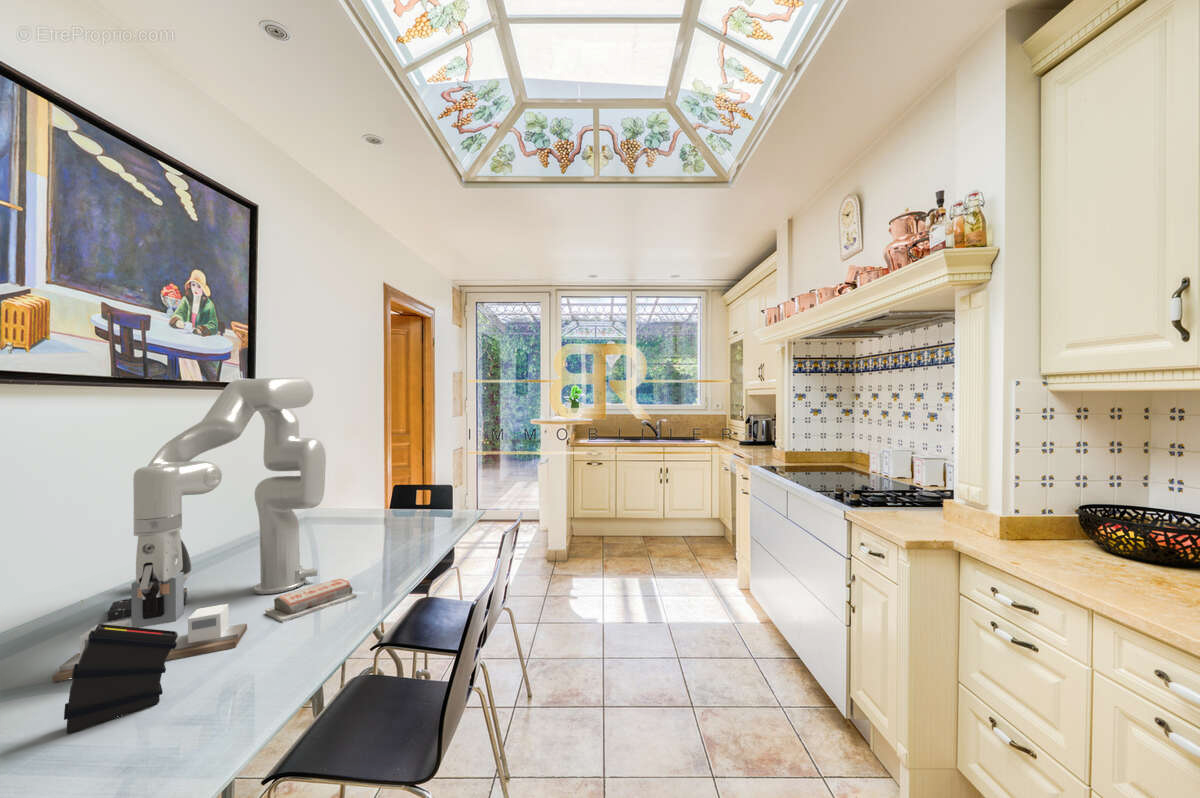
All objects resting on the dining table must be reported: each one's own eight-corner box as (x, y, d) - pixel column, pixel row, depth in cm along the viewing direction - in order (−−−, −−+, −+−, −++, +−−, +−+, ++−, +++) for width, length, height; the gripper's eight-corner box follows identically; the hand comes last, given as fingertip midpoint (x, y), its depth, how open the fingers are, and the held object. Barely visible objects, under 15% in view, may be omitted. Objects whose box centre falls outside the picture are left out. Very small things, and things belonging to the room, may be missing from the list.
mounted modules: (228, 626, 109) (228, 603, 109) (220, 637, 103) (219, 614, 103) (96, 649, 99) (96, 625, 100) (79, 663, 94) (79, 637, 94)
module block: (183, 613, 105) (183, 571, 105) (175, 621, 100) (175, 577, 101) (141, 620, 102) (141, 577, 102) (131, 629, 98) (131, 583, 98)
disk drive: (107, 624, 119) (186, 606, 128) (107, 613, 119) (186, 595, 128) (112, 612, 127) (187, 596, 136) (112, 601, 127) (186, 586, 136)
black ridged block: (35, 725, 75) (95, 622, 80) (142, 725, 83) (189, 632, 89) (34, 736, 72) (95, 629, 77) (143, 734, 81) (192, 638, 86)
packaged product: (338, 574, 135) (356, 581, 129) (338, 592, 135) (357, 599, 129) (264, 596, 120) (281, 604, 115) (264, 616, 120) (282, 624, 114)
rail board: (247, 628, 112) (246, 620, 112) (235, 647, 103) (235, 637, 103) (82, 658, 100) (82, 649, 100) (52, 682, 91) (52, 671, 91)
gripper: (165, 530, 96) (165, 624, 95) (194, 515, 111) (195, 596, 111) (114, 535, 93) (115, 632, 92) (152, 519, 108) (152, 602, 107)
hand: (158, 611), depth 101 cm, fingers closed on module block, 4 cm apart
